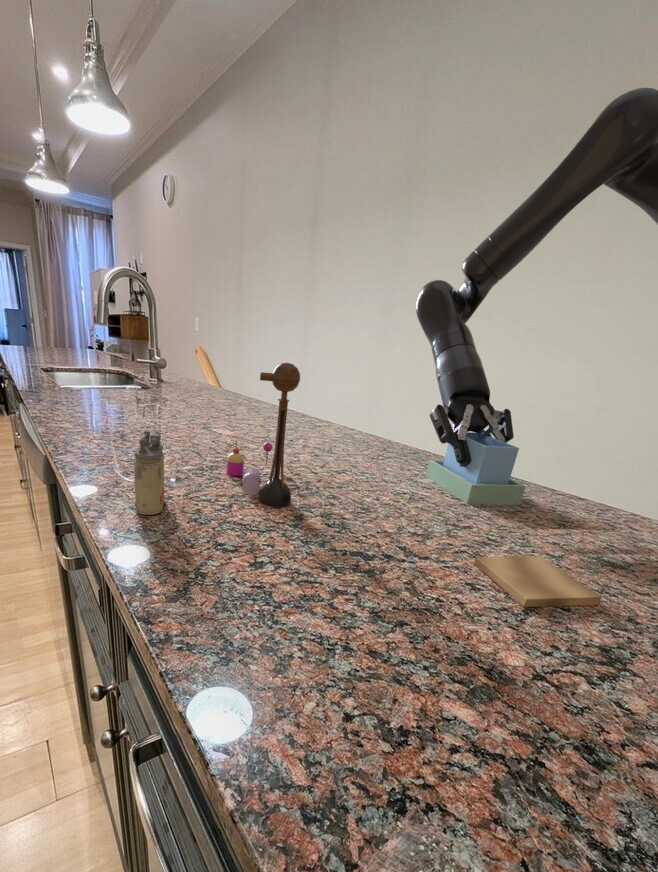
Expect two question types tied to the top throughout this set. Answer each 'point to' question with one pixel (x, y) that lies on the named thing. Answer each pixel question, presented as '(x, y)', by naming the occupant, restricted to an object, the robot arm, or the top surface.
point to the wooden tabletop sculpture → (279, 435)
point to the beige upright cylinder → (149, 475)
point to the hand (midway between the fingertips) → (483, 464)
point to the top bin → (484, 460)
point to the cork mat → (536, 581)
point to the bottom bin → (474, 487)
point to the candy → (250, 475)
